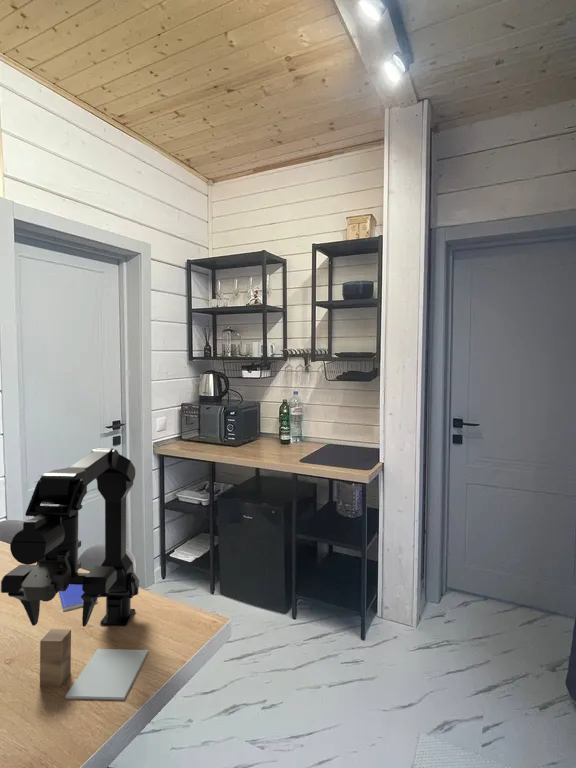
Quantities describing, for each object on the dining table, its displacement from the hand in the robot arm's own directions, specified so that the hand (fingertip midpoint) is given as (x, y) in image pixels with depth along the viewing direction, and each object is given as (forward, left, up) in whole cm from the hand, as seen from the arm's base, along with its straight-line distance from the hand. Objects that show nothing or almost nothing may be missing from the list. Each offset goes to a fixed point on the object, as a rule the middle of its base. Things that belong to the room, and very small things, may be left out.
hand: (60, 624), depth 81 cm
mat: (-8, +6, -15) cm, 18 cm away
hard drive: (-38, -15, -16) cm, 44 cm away
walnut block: (-6, -4, -15) cm, 16 cm away
